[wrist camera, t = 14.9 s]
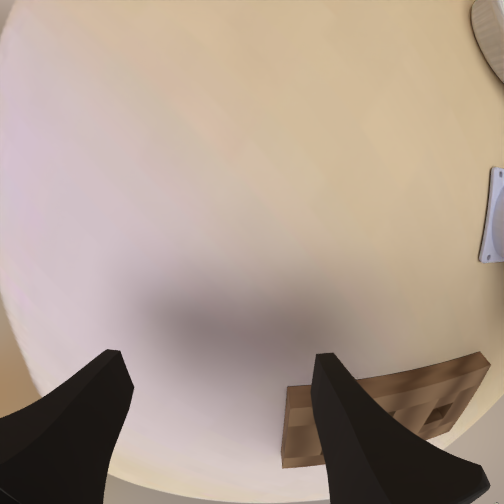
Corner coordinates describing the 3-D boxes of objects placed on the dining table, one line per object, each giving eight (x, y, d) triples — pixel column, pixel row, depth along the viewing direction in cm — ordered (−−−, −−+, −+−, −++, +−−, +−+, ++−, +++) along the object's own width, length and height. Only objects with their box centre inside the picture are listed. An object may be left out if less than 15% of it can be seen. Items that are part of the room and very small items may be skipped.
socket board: (479, 351, 22) (490, 364, 19) (442, 418, 26) (448, 431, 24) (287, 386, 22) (290, 408, 20) (281, 451, 26) (282, 468, 24)
